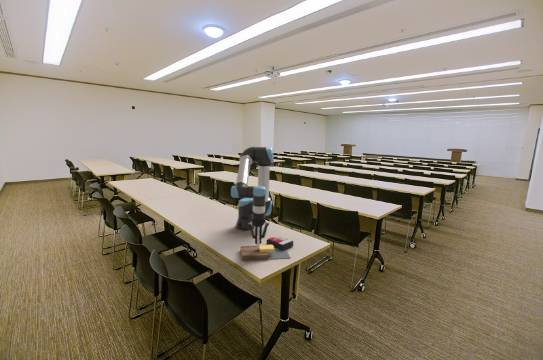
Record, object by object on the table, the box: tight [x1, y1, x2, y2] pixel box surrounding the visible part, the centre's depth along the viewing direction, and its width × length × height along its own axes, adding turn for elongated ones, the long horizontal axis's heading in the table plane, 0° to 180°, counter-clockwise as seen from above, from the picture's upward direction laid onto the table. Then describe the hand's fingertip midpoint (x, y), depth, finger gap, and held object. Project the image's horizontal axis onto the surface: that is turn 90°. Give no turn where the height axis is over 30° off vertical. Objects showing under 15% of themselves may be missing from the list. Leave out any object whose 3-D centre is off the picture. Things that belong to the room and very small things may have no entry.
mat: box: [268, 247, 291, 261], centre depth 161 cm, size 14×13×1 cm
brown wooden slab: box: [240, 244, 270, 262], centre depth 158 cm, size 14×16×3 cm
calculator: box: [266, 235, 294, 250], centre depth 174 cm, size 11×4×15 cm
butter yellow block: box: [259, 244, 275, 252], centre depth 159 cm, size 6×9×2 cm, turn 100°
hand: (258, 248), depth 158 cm, fingers closed
